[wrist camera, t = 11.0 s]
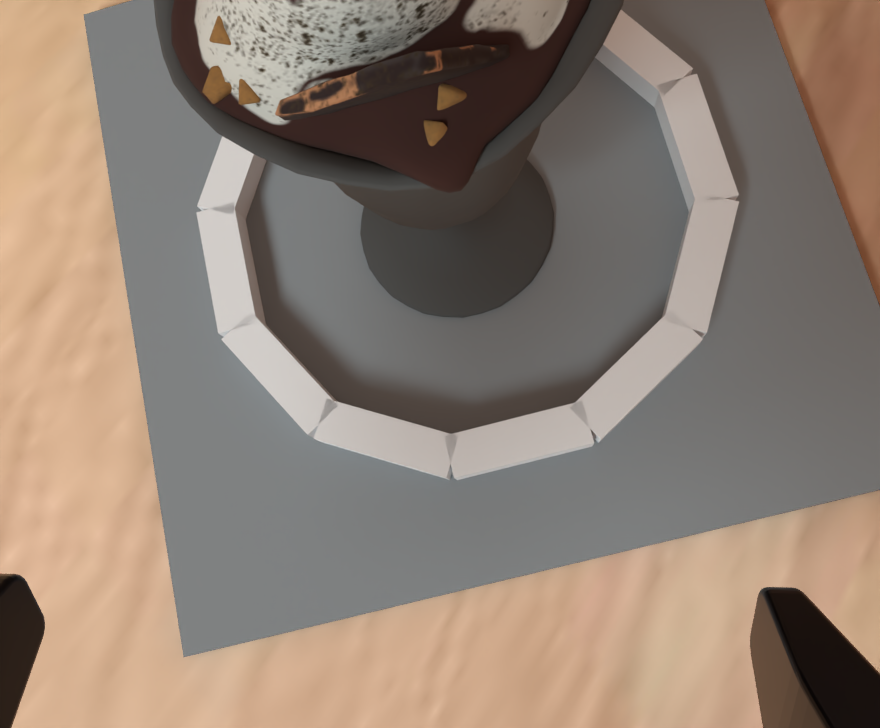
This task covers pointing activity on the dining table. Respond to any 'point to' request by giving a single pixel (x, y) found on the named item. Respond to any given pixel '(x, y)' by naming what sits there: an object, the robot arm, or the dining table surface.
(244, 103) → the sundae
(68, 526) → the dining table surface
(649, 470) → the ring mat
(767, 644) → the robot arm
